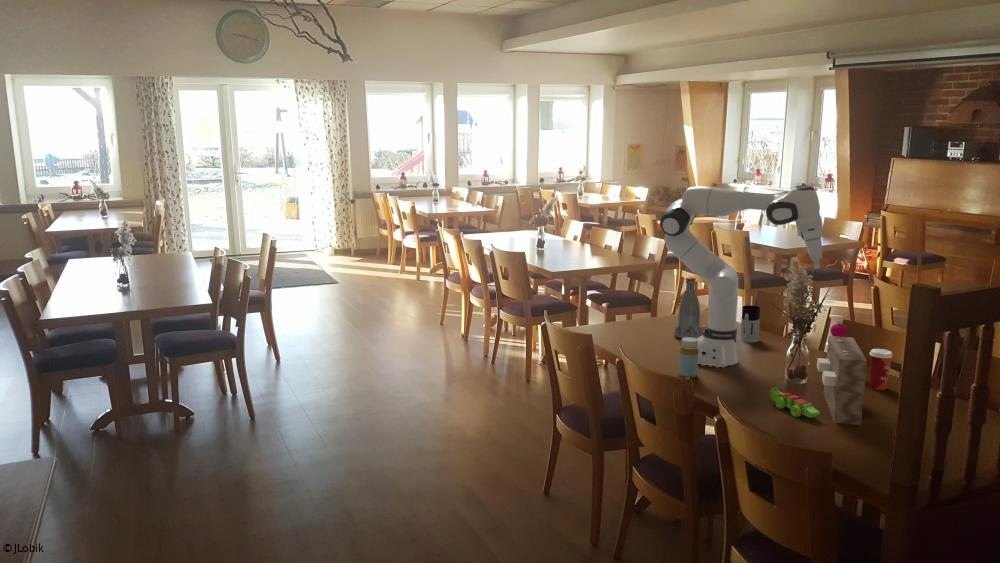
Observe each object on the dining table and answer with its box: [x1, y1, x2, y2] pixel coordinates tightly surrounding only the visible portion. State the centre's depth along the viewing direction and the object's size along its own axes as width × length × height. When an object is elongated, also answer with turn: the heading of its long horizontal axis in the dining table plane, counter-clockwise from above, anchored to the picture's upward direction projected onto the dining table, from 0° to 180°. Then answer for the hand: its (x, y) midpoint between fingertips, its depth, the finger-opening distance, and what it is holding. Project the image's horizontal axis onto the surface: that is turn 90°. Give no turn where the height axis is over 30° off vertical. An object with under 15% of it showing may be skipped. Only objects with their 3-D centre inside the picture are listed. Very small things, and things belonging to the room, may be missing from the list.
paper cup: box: [868, 348, 894, 391], centre depth 268 cm, size 8×8×14 cm
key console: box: [823, 335, 868, 426], centre depth 248 cm, size 8×26×22 cm, turn 164°
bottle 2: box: [678, 337, 699, 379], centre depth 283 cm, size 7×7×15 cm
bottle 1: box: [674, 276, 703, 339], centre depth 332 cm, size 13×13×28 cm
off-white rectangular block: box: [821, 371, 837, 386], centre depth 243 cm, size 6×5×3 cm
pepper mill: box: [825, 320, 848, 359], centre depth 288 cm, size 7×7×20 cm
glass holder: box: [738, 305, 761, 343], centre depth 326 cm, size 9×14×15 cm, turn 148°
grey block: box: [816, 357, 830, 373], centre depth 256 cm, size 6×5×3 cm
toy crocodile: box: [769, 386, 821, 419], centre depth 249 cm, size 20×7×6 cm, turn 20°
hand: (815, 264), depth 269 cm, fingers open, 8 cm apart
